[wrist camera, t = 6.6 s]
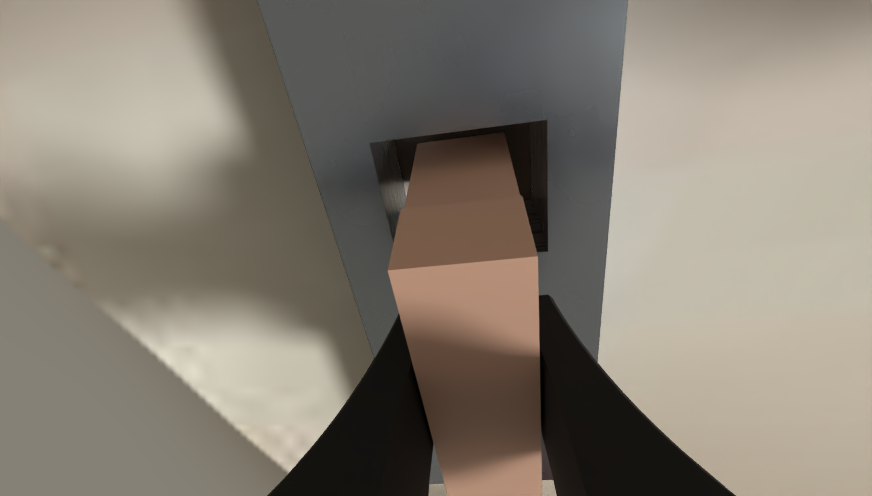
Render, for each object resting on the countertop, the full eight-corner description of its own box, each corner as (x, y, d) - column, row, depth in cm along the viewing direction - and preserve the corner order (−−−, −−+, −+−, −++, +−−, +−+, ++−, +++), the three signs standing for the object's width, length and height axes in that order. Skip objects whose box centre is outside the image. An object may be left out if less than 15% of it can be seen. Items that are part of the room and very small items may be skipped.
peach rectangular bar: (503, 125, 12) (538, 256, 7) (516, 334, 16) (542, 503, 11) (416, 136, 12) (387, 270, 7) (452, 338, 16) (450, 506, 12)
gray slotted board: (595, -189, 9) (648, -245, 6) (571, 412, 20) (587, 478, 17) (272, -122, 10) (208, -148, 7) (420, 420, 21) (415, 484, 18)
